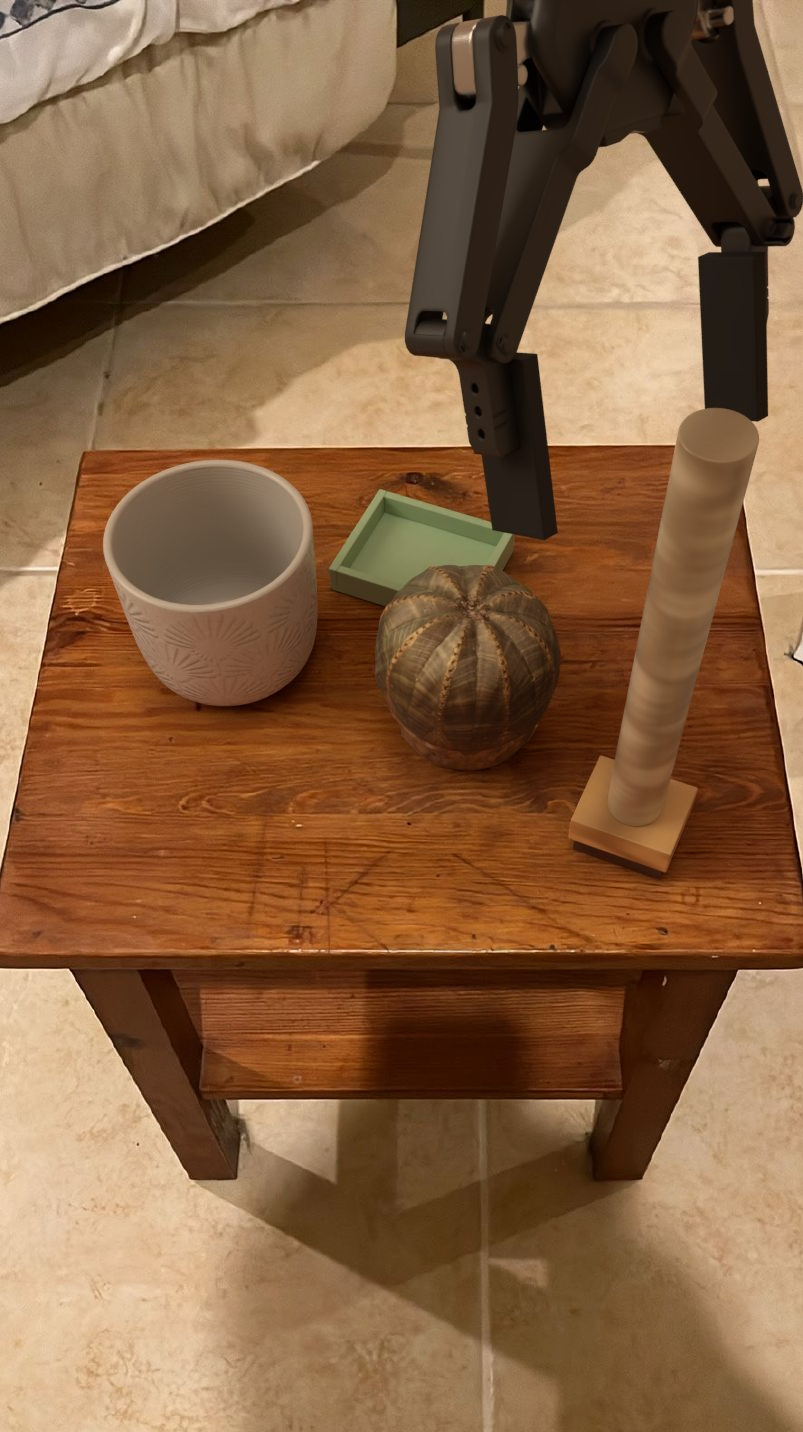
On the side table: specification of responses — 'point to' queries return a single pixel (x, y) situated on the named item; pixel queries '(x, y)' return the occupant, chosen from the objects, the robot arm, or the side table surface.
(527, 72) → the robot arm
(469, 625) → the brown ribbed round dome
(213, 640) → the planter
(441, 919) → the side table surface
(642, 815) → the paper towel holder
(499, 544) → the tray
